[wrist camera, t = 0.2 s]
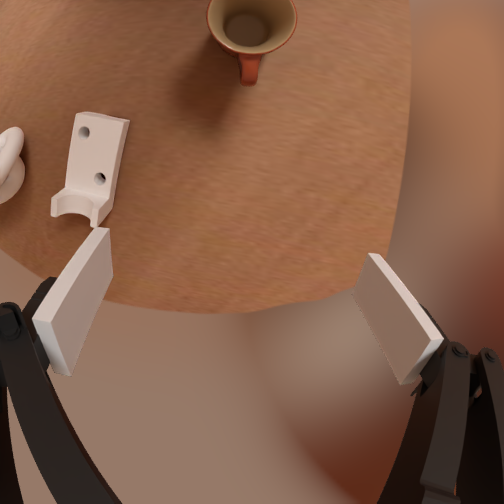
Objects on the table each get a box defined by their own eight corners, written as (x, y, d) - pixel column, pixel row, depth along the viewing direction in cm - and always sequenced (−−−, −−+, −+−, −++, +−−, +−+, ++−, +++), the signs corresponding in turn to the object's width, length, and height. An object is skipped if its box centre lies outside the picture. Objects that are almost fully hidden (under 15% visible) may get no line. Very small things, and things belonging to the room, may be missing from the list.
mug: (211, 5, 28) (208, -22, 19) (279, 7, 29) (298, -17, 20) (208, 88, 34) (204, 85, 25) (276, 89, 35) (294, 88, 26)
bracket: (114, 206, 41) (96, 228, 34) (73, 196, 39) (50, 215, 33) (132, 119, 35) (113, 125, 29) (87, 111, 34) (61, 116, 27)
